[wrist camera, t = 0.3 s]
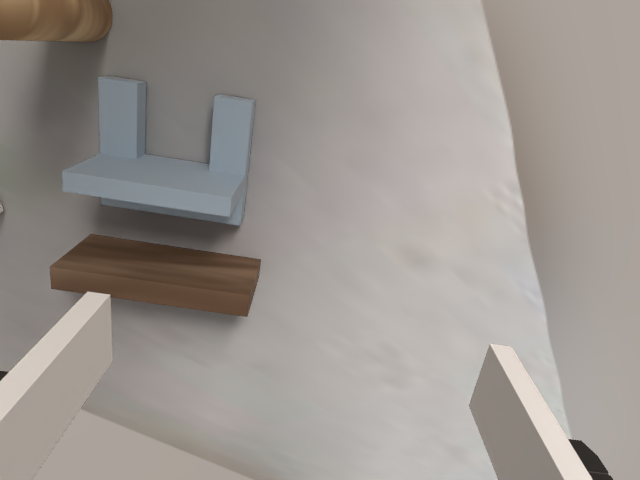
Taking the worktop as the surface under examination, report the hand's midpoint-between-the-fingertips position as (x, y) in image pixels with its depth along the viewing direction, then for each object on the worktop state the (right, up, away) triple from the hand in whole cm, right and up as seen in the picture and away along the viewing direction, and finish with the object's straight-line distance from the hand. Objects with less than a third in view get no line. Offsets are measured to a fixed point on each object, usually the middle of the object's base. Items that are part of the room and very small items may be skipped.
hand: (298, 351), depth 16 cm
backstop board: (-13, +2, +28) cm, 31 cm away
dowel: (-18, +22, +20) cm, 35 cm away
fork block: (-11, +12, +24) cm, 29 cm away
